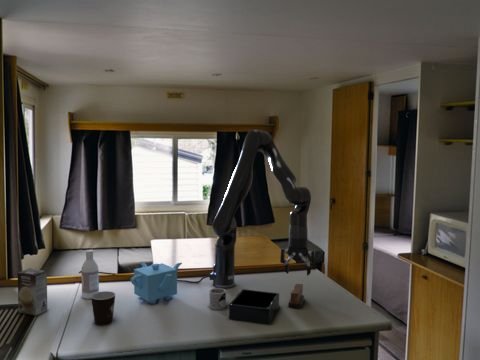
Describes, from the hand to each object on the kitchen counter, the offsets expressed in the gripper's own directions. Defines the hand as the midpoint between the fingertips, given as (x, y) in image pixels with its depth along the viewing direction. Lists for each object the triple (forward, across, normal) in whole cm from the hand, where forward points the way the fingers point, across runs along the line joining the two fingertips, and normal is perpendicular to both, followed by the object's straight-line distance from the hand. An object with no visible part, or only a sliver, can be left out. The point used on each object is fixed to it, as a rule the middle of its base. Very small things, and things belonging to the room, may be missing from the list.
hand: (297, 274), depth 179 cm
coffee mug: (+12, +65, +39) cm, 77 cm away
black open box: (+12, +14, +15) cm, 24 cm away
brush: (+13, 0, 0) cm, 13 cm away
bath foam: (+12, +86, +20) cm, 89 cm away
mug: (+13, +30, +12) cm, 35 cm away
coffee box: (+12, +97, +41) cm, 106 cm away
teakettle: (+12, +58, +12) cm, 61 cm away
